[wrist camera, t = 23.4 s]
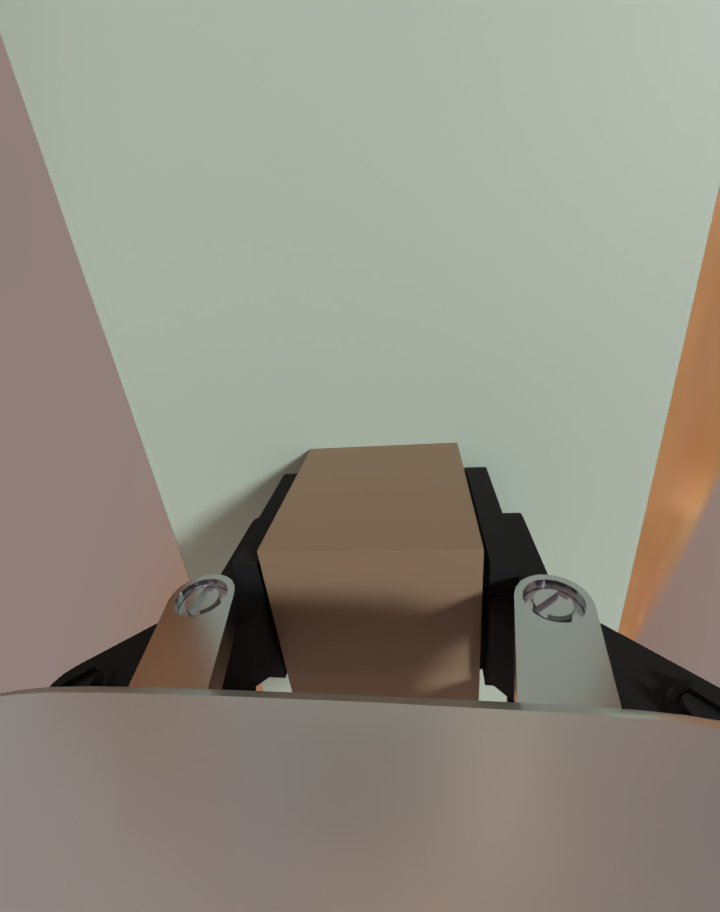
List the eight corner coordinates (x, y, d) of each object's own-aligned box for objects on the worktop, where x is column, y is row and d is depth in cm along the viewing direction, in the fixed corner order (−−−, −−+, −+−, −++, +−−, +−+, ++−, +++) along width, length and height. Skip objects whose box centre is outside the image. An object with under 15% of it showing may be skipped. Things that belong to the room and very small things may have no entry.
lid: (743, -156, 7) (1714, -1367, 2) (569, 747, 18) (636, 954, 13) (37, 0, 9) (-487, -360, 4) (264, 730, 20) (210, 902, 15)
